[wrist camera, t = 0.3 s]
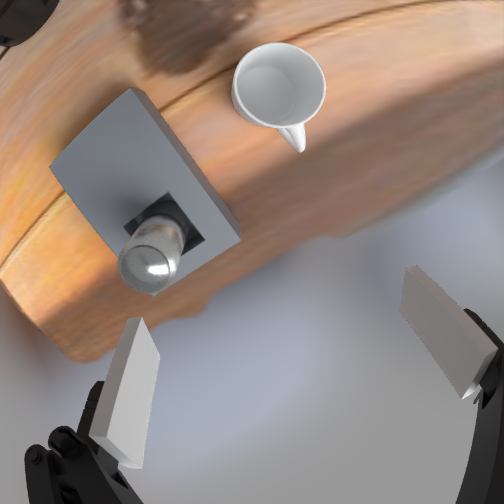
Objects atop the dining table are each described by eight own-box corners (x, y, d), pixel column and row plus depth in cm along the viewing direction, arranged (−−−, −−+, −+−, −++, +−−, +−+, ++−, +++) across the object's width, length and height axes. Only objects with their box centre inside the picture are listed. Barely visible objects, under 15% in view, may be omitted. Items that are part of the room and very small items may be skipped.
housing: (70, 159, 33) (48, 166, 28) (144, 92, 31) (130, 87, 25) (161, 274, 42) (153, 296, 36) (238, 223, 39) (241, 240, 34)
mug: (259, 160, 36) (271, 175, 26) (219, 78, 31) (217, 61, 21) (318, 136, 35) (351, 142, 26) (282, 55, 30) (303, 31, 20)
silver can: (138, 217, 36) (102, 263, 24) (173, 190, 35) (147, 227, 23) (166, 250, 38) (143, 308, 26) (200, 226, 37) (189, 278, 25)
